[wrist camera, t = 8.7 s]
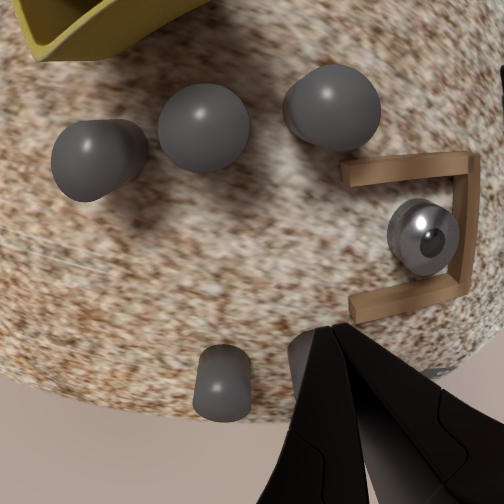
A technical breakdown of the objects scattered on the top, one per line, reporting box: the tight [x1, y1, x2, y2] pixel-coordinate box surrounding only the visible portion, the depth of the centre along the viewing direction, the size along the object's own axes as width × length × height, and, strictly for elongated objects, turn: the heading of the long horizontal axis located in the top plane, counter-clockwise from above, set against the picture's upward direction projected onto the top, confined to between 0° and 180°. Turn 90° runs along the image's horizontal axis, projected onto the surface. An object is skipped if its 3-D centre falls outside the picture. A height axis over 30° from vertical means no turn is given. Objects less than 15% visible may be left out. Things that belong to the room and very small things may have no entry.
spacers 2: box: [193, 330, 314, 422], centre depth 21 cm, size 11×4×4 cm, turn 100°
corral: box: [339, 151, 480, 324], centre depth 18 cm, size 10×11×2 cm
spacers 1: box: [51, 65, 381, 202], centre depth 14 cm, size 16×4×4 cm, turn 100°
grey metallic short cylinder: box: [387, 198, 459, 276], centre depth 18 cm, size 5×5×2 cm
